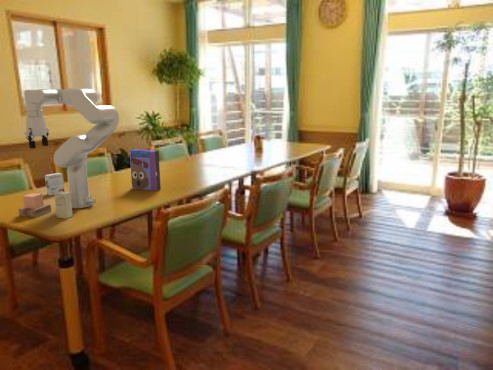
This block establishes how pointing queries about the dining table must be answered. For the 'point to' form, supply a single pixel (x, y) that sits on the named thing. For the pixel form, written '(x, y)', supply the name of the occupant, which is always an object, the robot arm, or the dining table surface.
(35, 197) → the terracotta cube
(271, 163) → the dining table surface
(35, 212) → the walnut block
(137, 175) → the cereal box
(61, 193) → the skincare box
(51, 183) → the ink box
